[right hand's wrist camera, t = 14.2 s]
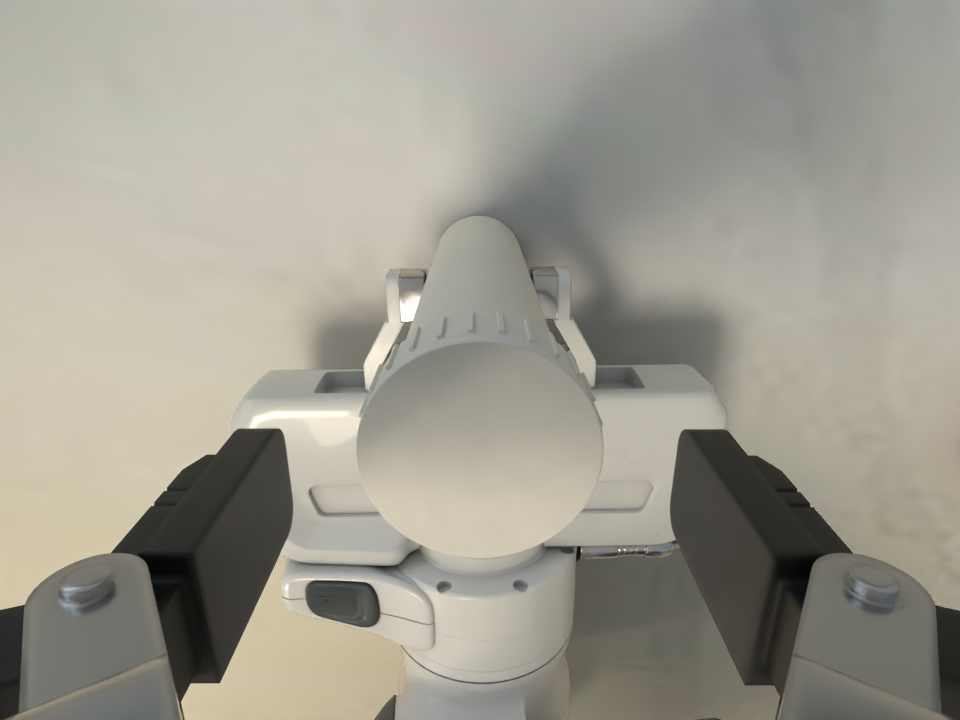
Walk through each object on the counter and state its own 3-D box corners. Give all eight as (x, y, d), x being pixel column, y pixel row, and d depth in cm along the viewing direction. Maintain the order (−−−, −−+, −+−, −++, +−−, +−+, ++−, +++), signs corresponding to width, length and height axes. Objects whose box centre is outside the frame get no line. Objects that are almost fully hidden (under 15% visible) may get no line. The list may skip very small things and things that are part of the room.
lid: (549, 531, 15) (559, 584, 13) (346, 480, 14) (328, 529, 13) (624, 344, 13) (646, 378, 12) (397, 280, 13) (384, 305, 11)
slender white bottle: (506, 310, 31) (544, 552, 14) (426, 287, 31) (356, 506, 13) (532, 229, 30) (614, 382, 12) (448, 204, 29) (404, 323, 12)
